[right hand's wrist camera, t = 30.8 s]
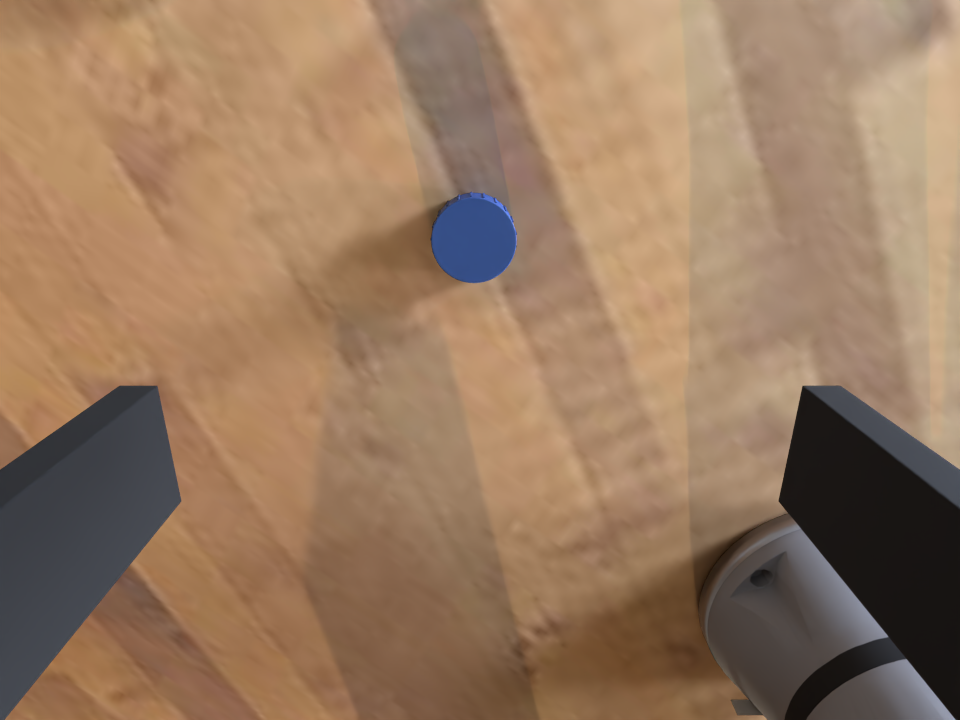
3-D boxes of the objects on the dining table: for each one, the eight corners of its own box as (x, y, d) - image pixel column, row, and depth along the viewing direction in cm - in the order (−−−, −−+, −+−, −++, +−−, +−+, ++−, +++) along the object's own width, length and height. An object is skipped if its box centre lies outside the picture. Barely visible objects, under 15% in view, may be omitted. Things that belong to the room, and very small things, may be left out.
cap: (458, 175, 31) (457, 179, 29) (530, 219, 31) (534, 226, 29) (418, 248, 32) (414, 256, 30) (488, 288, 33) (489, 299, 31)
